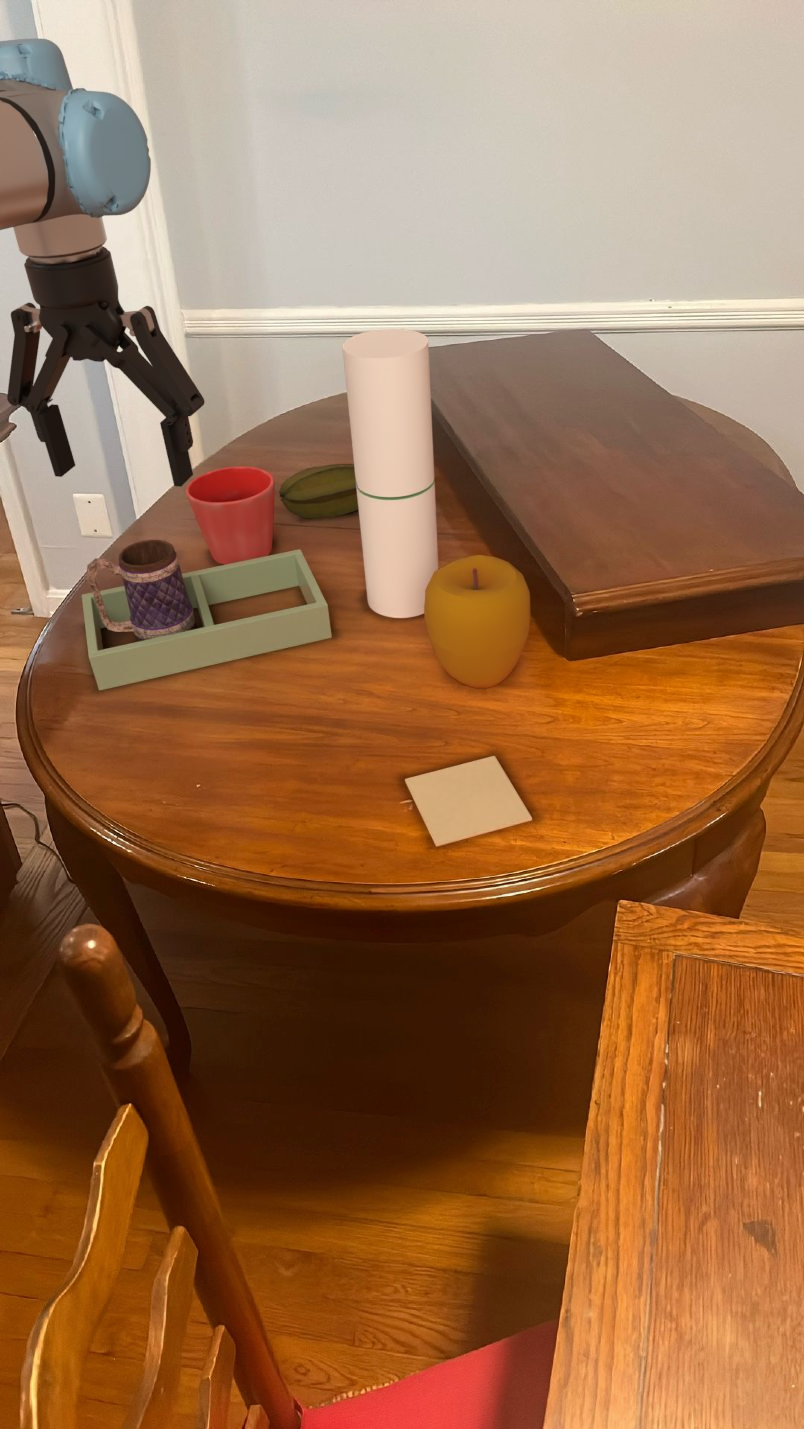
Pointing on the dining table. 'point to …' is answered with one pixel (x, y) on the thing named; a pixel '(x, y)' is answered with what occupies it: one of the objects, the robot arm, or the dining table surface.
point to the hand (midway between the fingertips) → (123, 476)
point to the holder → (211, 621)
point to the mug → (148, 590)
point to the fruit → (321, 491)
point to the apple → (478, 618)
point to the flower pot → (234, 512)
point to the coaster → (467, 800)
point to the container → (393, 466)
